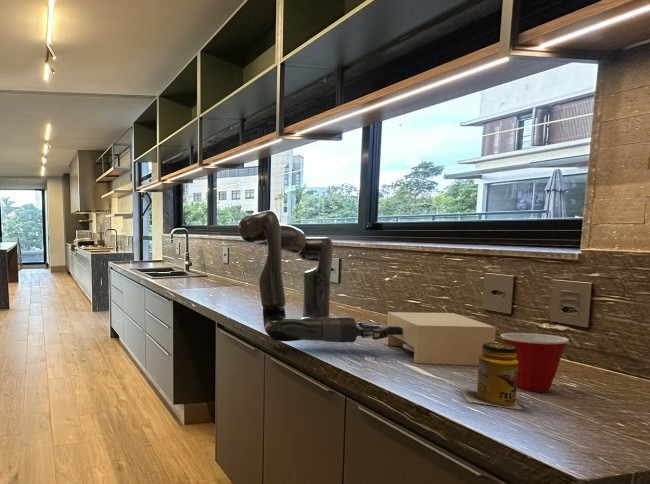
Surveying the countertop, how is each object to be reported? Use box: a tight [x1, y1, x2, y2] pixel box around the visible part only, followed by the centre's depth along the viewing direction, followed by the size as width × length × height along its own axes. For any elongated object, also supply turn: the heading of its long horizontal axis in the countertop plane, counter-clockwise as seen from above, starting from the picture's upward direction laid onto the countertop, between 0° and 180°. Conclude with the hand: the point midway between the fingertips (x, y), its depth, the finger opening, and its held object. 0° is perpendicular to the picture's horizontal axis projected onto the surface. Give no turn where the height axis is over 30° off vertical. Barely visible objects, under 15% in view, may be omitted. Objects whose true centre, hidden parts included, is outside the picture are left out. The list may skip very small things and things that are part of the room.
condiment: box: [459, 342, 523, 410], centre depth 86 cm, size 7×8×12 cm
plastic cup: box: [500, 332, 570, 393], centre depth 92 cm, size 11×11×12 cm
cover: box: [386, 311, 497, 366], centre depth 117 cm, size 18×18×10 cm
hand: (400, 330), depth 119 cm, fingers closed
